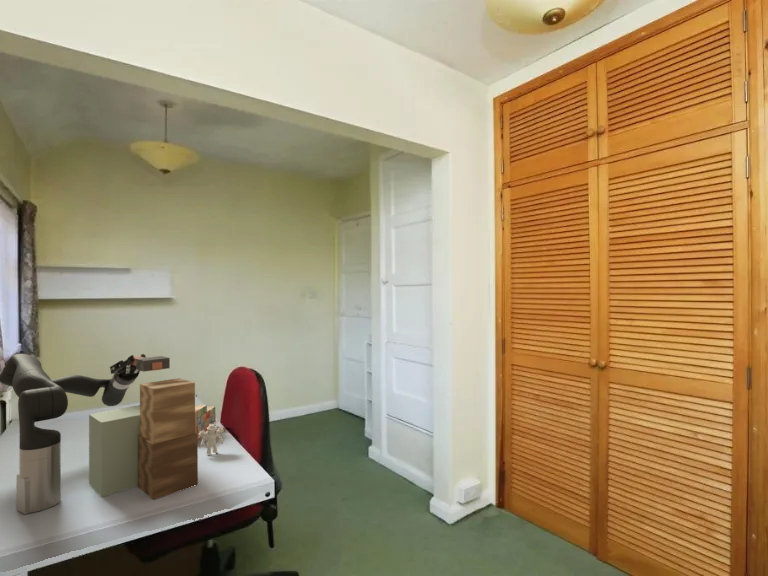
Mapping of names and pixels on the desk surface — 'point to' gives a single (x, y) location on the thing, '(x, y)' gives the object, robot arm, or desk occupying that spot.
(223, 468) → the desk surface
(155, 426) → the tower
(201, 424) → the stack of blocks
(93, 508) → the desk surface
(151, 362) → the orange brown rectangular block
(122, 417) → the upright pale green block
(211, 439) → the cream toy figurine
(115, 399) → the robot arm
